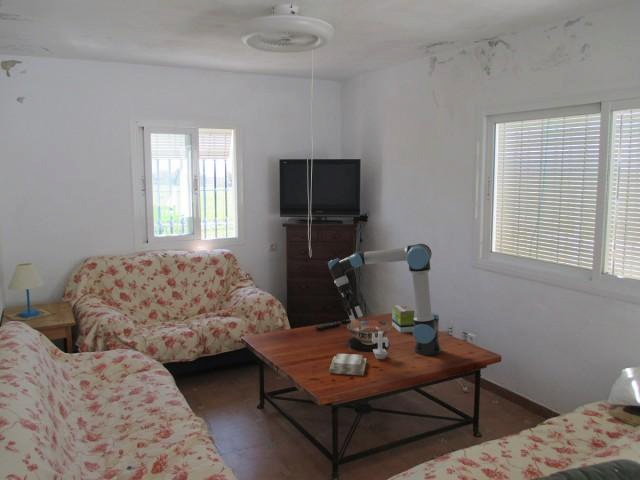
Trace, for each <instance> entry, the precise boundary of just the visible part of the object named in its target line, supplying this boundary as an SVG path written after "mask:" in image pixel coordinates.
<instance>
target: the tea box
mask: <svg viewBox="0 0 640 480" xmlns="http://www.w3.org/2000/svg"><path fill="white" fill-rule="evenodd" d="M391 310H392V312H391V316H392V317H391V319H392V321H391V326H392V327H393V328H395V330H397V332H399V333H402V334H403V333H413V329H414V322H413V318H414V317H415V309H412V308H411V307H410V306H408V304H397V305H392V307H391Z"/></svg>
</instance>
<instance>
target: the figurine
mask: <svg viewBox="0 0 640 480" xmlns="http://www.w3.org/2000/svg"><path fill="white" fill-rule="evenodd" d="M383 335H384V332H383V331H379V330H378V332H377V337H376V333H374V332H373V333H372V334H371V342H372V343H373V344H377V348H374V349H372V351H373V353H374V356H375V358H376V360H385V359H386V358H387V355H388V351H387V350H386V349H385V348H383V343H385V347H386V348H389V337H384V336H383Z"/></svg>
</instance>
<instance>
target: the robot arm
mask: <svg viewBox="0 0 640 480" xmlns="http://www.w3.org/2000/svg"><path fill="white" fill-rule="evenodd" d="M431 259H432V250H431V247H430V246H428V245H427V244H425V243H417V244H409V245H407V246H406V247H401V248H400V247H399V248H392V249H390V248H389V249H381V250H372V251H355V252H354V253H352V254H351V255H349V256H347V257H345V258H343V259H340V258H338V257H337V258H335V259H331V260H330V261H328V262H327V265H328V266H327V267H328V268H329V271H330V273H331V276H332V278H333V281H334V284H335V285H336V287H337V290H338V293H340V297H341V300H342V301H341V302H342V305H343V310H344V312H347V315H348V318H349V319H350V320H349V321H350V322H355V320H356V317H355V315H354V312H353V309H352V308H351V305H350V304H351V303H352V305H353V306H354V310H355V312H356V314H357V317H358V318H362V317H363V312H362V310H361V308H360V305H361V304H360V301H359V299H357V297H356V296H355V294H354V292H353V290H352V286H351V284H350V283H349V278H348V277H347V274H346V273H347V272H349V271H351V270H354V269H357V268H359V267H361V266H362V265H372V264H375V265H376V264H384V263H385V264H386V263H393V262H394V263H397V262H407V265H408V271H409V272H410V273H411V274H412V286H413V297H414V298H413V299H414V314H415V315H414V318H413V322H414V329H413V332H412V336H413V338H414V340H415V345H414V352H415V353H417V354H418V355H422V356H437V355H439V354H441V353H442V352H441V350H442V349H441V345H440V342H439V325H440V324H439V321H440V319H439V318H440V317H439V314H438V313H436V312H432V307H431V305H432V304H431V295H430V282H429V272H430V271H431Z"/></svg>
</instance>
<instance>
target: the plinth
mask: <svg viewBox="0 0 640 480" xmlns="http://www.w3.org/2000/svg"><path fill="white" fill-rule="evenodd" d="M366 365H367V358H366V357H363V354H353V353H351V354H350V353H336V356H335V355H334V356H333V358H332V361H331V364H330V366H329V369H328V370H329V371H328V373H329V374H336V375H337V374H339V375H350V374H351V376H352V375H353V376H354V375H355V376H364V374H365V371H366V367H367V366H366Z"/></svg>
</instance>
